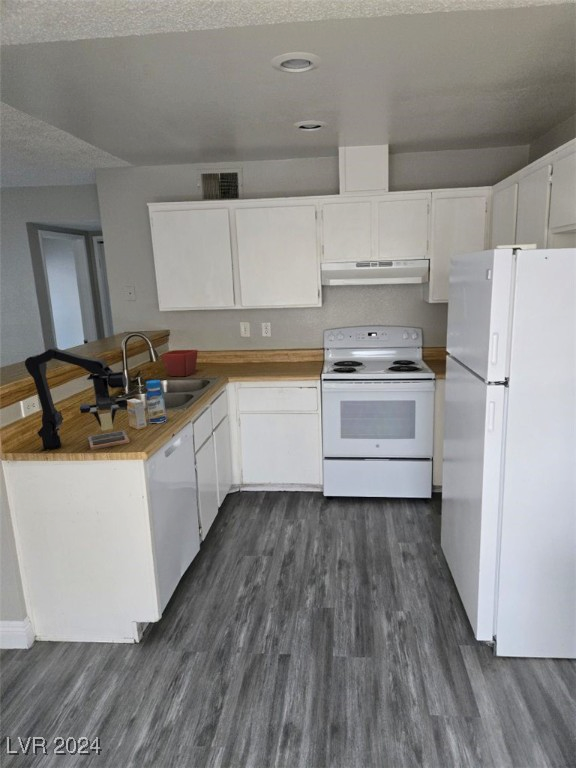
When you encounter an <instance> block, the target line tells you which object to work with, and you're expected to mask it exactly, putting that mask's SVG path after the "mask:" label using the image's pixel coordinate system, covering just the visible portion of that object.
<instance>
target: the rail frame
mask: <svg viewBox="0 0 576 768" xmlns="http://www.w3.org/2000/svg"><path fill="white" fill-rule="evenodd" d="M87 437H88V438H87V439H88V443H89V447H90V450H91V451H92V450H98V449H103V448H108V447H113V446H114V447H115V446H119V444H120V445H125V444H130V443H129V442H130V439H129V437H128V435H127V433H126V431H125V430H124V429H123V430H118V431H112V432H107V433H103V434H102V433H101V434H95V435H90V436H87ZM116 440H117V441H116ZM124 443H125V444H124ZM95 444H96V445H95Z"/></svg>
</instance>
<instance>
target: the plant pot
mask: <svg viewBox="0 0 576 768" xmlns="http://www.w3.org/2000/svg"><path fill="white" fill-rule="evenodd" d="M160 355H161V359H162V362H163V364H164V367H165V369H166V372H167V373H168V375H169V377H170V376H186V377H189V376H191V375H193V374H195V371H196V365H197V362H198V349H181V350H180V349H179V350H177V349H175V350H172V351H168V352H164V353H162V354H160ZM188 375H189V376H188Z"/></svg>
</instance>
